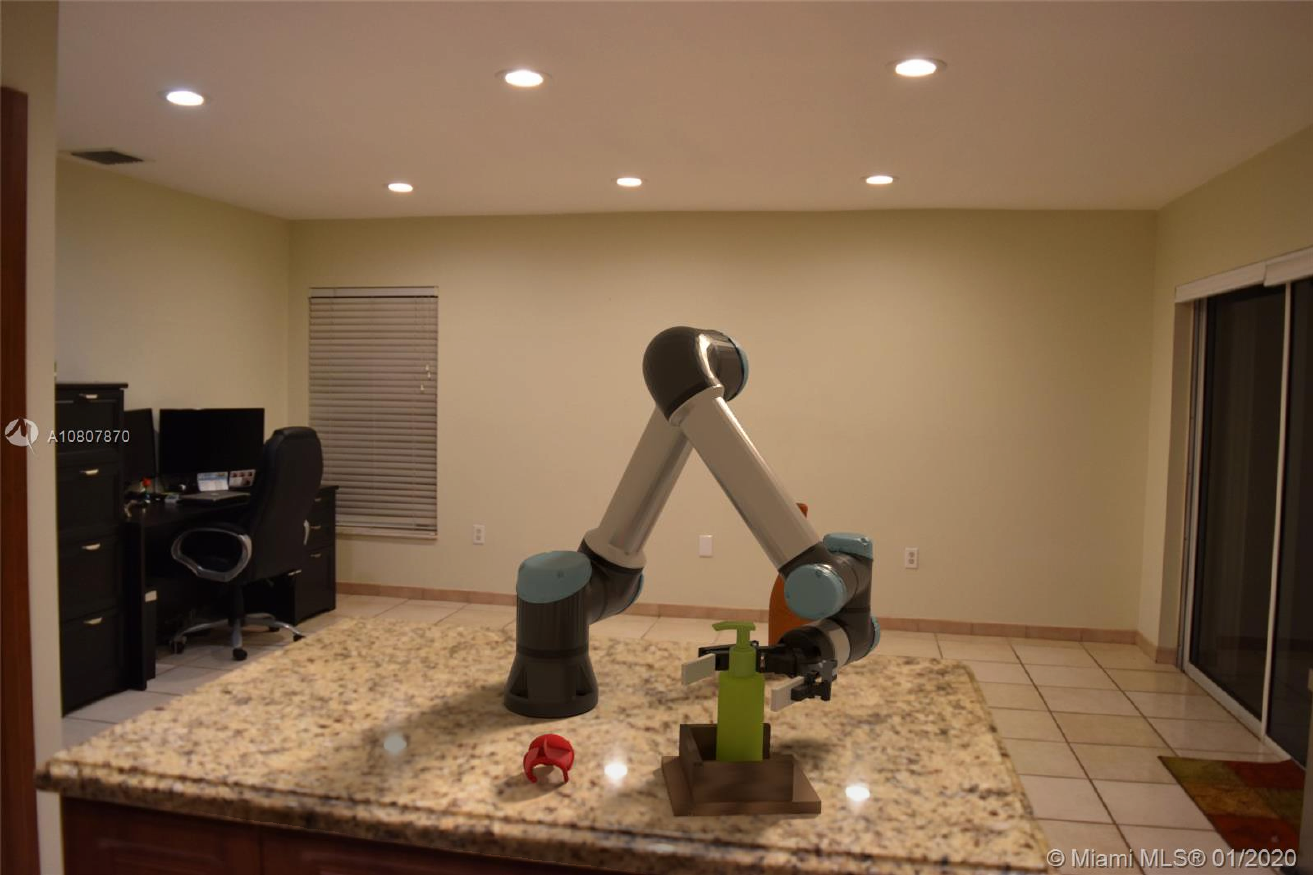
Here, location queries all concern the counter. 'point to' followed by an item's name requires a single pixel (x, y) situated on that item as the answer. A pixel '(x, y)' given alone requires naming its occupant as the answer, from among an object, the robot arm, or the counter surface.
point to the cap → (549, 755)
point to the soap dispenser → (740, 700)
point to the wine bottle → (782, 607)
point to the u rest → (733, 779)
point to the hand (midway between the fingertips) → (726, 687)
